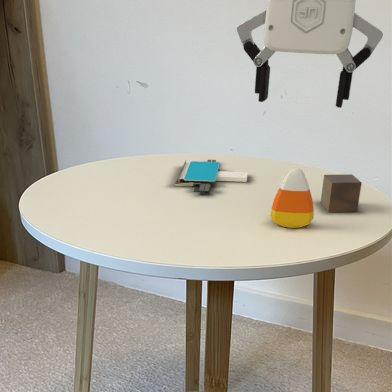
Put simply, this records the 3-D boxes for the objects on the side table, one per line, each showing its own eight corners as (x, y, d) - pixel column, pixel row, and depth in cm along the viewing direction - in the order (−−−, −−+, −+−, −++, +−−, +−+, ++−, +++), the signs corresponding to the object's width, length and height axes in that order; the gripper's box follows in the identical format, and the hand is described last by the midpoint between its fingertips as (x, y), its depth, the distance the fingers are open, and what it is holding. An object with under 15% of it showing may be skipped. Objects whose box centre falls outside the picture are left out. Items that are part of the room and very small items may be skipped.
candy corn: (312, 222, 85) (319, 165, 81) (312, 230, 82) (319, 171, 78) (270, 220, 85) (274, 163, 81) (269, 227, 83) (273, 169, 79)
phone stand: (245, 196, 95) (246, 186, 94) (171, 193, 96) (171, 183, 95) (247, 164, 112) (248, 155, 111) (184, 162, 113) (184, 153, 112)
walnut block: (348, 202, 93) (352, 174, 91) (357, 211, 89) (361, 182, 87) (320, 203, 93) (323, 174, 90) (328, 212, 89) (332, 182, 86)
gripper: (236, -64, 66) (227, 102, 75) (399, -62, 62) (369, 113, 71) (248, -60, 72) (239, 94, 81) (397, -57, 68) (370, 103, 77)
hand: (300, 103), depth 76 cm, fingers open, 9 cm apart
